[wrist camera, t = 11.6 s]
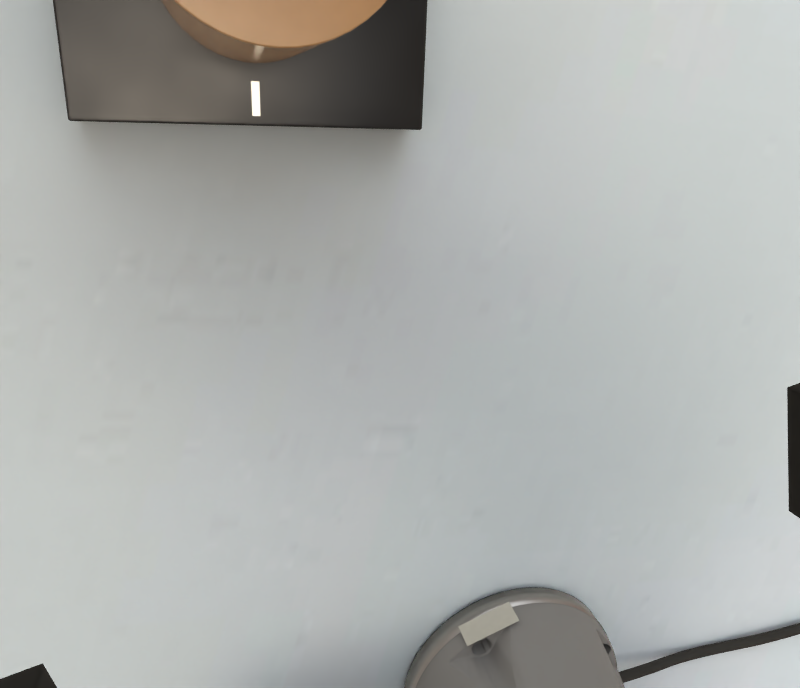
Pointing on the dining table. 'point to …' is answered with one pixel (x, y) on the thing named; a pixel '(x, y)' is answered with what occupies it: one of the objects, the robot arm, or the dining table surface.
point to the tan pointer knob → (268, 24)
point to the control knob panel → (238, 71)
